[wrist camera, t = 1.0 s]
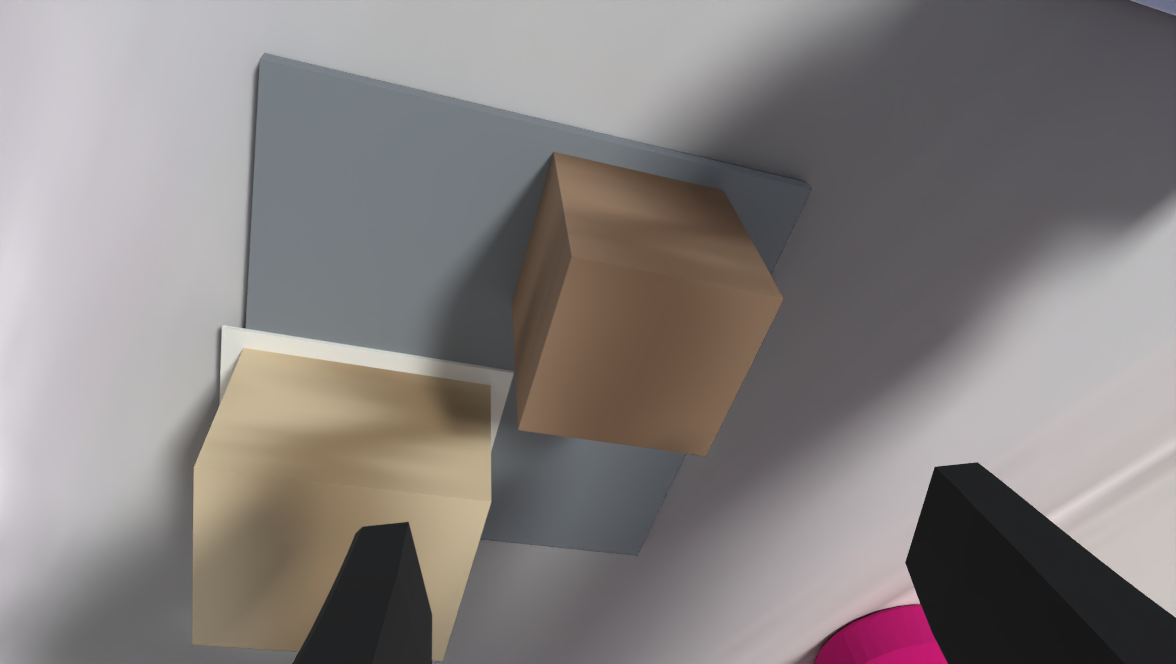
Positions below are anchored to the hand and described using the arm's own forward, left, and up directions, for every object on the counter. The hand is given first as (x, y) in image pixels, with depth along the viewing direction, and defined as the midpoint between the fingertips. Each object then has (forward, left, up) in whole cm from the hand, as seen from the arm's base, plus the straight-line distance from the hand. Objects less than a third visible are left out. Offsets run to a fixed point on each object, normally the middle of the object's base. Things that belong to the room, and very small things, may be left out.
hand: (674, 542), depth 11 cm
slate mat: (+2, +4, -9) cm, 10 cm away
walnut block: (0, 0, -9) cm, 9 cm away
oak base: (+5, +8, -9) cm, 13 cm away
